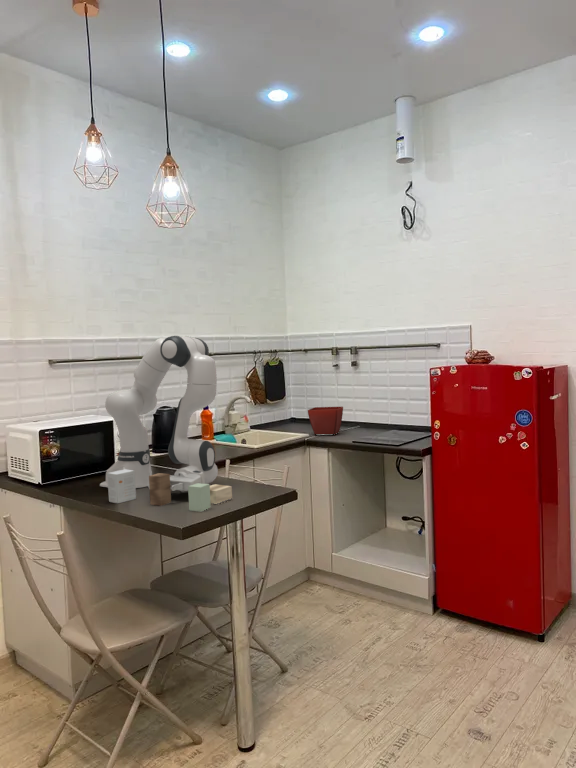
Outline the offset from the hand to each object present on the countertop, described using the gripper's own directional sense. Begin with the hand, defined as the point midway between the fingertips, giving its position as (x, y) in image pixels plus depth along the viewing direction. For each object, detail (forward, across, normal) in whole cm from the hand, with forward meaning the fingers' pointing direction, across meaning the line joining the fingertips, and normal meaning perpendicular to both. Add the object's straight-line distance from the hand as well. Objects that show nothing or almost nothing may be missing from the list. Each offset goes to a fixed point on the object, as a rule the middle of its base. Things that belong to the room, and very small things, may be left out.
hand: (160, 487), depth 203 cm
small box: (+1, -17, +6) cm, 18 cm away
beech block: (-9, +17, +6) cm, 20 cm away
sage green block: (+2, +18, +6) cm, 19 cm away
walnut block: (0, 0, +6) cm, 6 cm away
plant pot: (-178, -19, +6) cm, 179 cm away
